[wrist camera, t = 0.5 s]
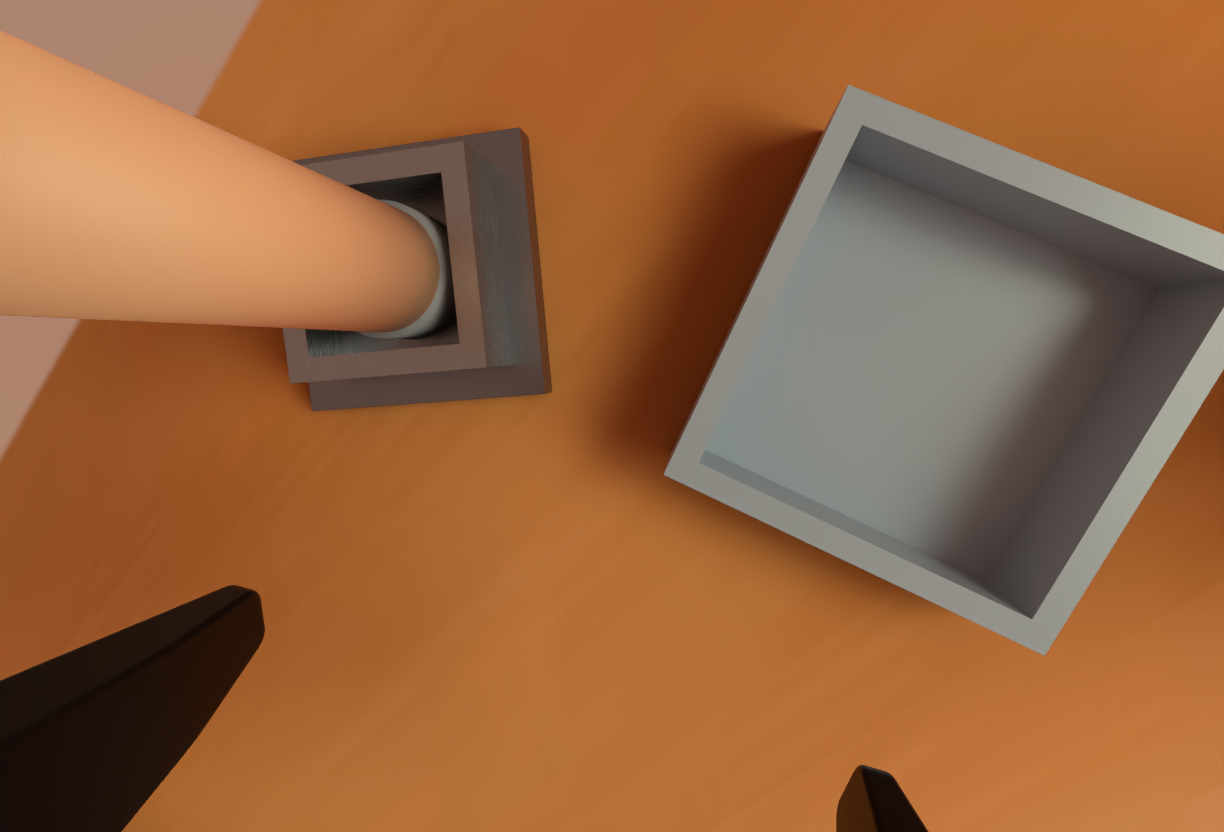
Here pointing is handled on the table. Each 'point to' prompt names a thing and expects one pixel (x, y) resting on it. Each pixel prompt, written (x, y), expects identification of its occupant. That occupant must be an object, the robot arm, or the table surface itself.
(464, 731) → the table surface
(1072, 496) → the bin
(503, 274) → the stud base
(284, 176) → the tan rounded tapered piece
